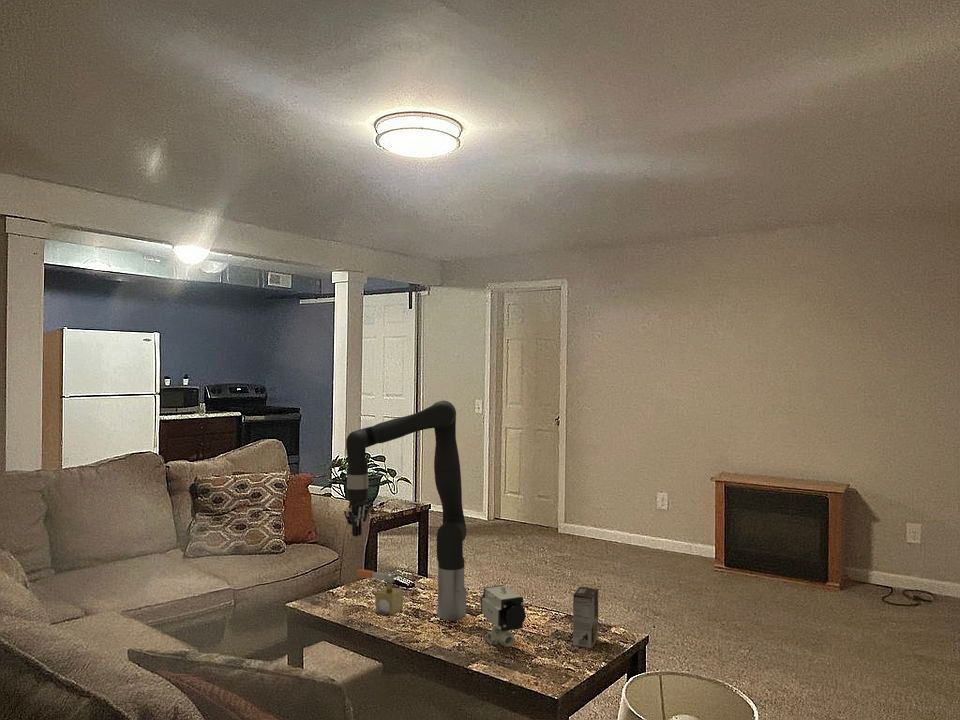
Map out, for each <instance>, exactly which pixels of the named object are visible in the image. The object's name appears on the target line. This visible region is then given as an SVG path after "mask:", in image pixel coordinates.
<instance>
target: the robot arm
mask: <svg viewBox="0 0 960 720" xmlns="http://www.w3.org/2000/svg"><path fill="white" fill-rule="evenodd" d="M456 424H457V409H456V407H455V406H454V404H453V403H452V402H450V401H447V400H439V401H437V402H435V403H433V404H432V405H430V406H428V407H427V408H424V409H422V410H420V411H417V412H415V413H412V414H409V415H406V416H400V417H396V418H392V419H389V420H385V421H381V422H379V423H377V424H374V425H372V426H368V427H363V428H360V429H357V430H353V431H352V432H350V433H349V434H348V436H347V437H346V441H345V442H346V443H345V448H346V449H345V450H346V455H347V461H348V462H347V463H348V464H347V478H346V500H347V501H348V502H349V503H348V510H346V511H344V512H343V514H344V517H345V520H346V522H347V524H348V525H350V526H352V529H351V535H352V536H353V537H356V538H357V537H359V536H361V535H362V534H363V533H362V531H363V529H362V527H363V524H364V522H365V523H366V521H367V517H368V514H369V512H370V510H371V506H370V505H367V501H368V500H369V461H368V459H367V457H366V456H367V455H366V454H367V453H366V452H367V451H366V448H369V447H371V446H375V445H377V444H384V443H387V442H390V441H394V440H397V439H400V438H402V437H405V436H407V435H410V434H414V433H416V432H420V431H423V430H424V431H425V430H429V429H434V436H435V449H434V456H433V457H434V459H433V461H434V462H433V470H434V481H435V487H436V492H437V493H438V497H439V500H440V502H441V508H442V524H441V525H440V526H439V528H438V529H437V533H436V559H437V617H438V618H439V619H441V620H447V621H459V620H461V619H462V618H465V616H467V587H465V564H466V563H465V558H464V555H463V554H464V553H463V551H464V550H463V547H464V545H463V544H464V541H465V539H466V537H467V525H466V520H465V515H464V509H463V498H462V497H463V493H462V492H463V491H462V474H461V473H462V472H461V464H460V455H459V450H458V444H457V429H456V428H457V425H456Z"/></svg>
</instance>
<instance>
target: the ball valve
mask: <svg viewBox="0 0 960 720" xmlns="http://www.w3.org/2000/svg"><path fill="white" fill-rule="evenodd" d="M480 613H481V614H483V618H485V619H486V620H487V621H489V623H491V624H492V625H493V626H492V628H491V630H488V631H487V634H486V639H487V642H488V644H490V645H493V646H496V645H497V646H498V645H502V646H503V647H505V648H508V647H512V646H513V645H514V642H515V637H514V634H513V633H512V632H511V631H513V630H519V629H523V628H524V623H525V620H526V610H525V608H524V597H523V596H521V595H520V594H518V593H517V592H515V591H513V590H512V589H510V588H509V587H507V586H506V585H504V584H501V585H494V586H493V585H492V586H487V587H483V594H482V596H481V597H480Z"/></svg>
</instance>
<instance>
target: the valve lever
mask: <svg viewBox="0 0 960 720" xmlns="http://www.w3.org/2000/svg"><path fill="white" fill-rule="evenodd" d="M356 577H357V578H364V579H369V580H370V579H374V580H381V581H384V582H385V583H387V582H388V583H391V582H392V583H394V582H395V573H393V572H385V573H383V572H377V571H376V572H375V570H369V569H362V568H360V569H358V570H356Z"/></svg>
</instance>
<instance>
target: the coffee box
mask: <svg viewBox="0 0 960 720" xmlns="http://www.w3.org/2000/svg"><path fill="white" fill-rule="evenodd" d="M572 596H573V598H572V599H573V600H572V601H573V605H572V607H573V609H572V610H573V611H572V613H573V615H572V645H573V646H577V647H582V648H588V649H592V648H593V647H594V645H595V643H596V642H597V640H598V639H599V589H598V588H592V587H587V586H586V587H585V586H579V587H578V589H577V590H576V591H575V592H574V593H573V595H572Z"/></svg>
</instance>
